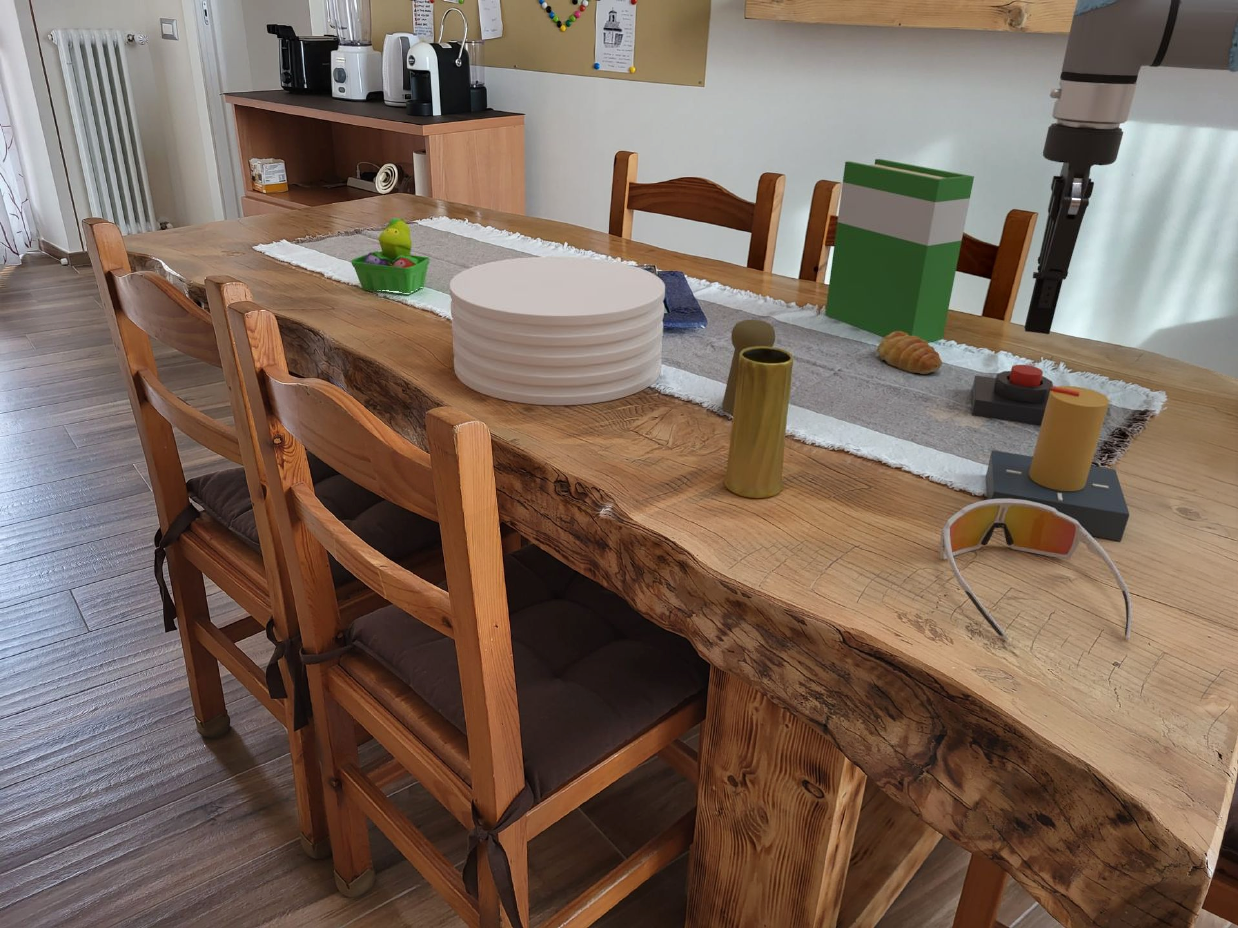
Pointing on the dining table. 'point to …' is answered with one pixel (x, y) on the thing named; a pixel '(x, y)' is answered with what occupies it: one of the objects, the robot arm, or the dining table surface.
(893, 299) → the green cereal box
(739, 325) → the pepper mill
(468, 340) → the plate stack
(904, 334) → the pastry
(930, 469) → the dining table surface
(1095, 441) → the yellow round cylinder
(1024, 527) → the sunglasses
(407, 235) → the fruit basket
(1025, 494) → the knob panel
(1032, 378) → the button
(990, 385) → the button box
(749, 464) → the vase
